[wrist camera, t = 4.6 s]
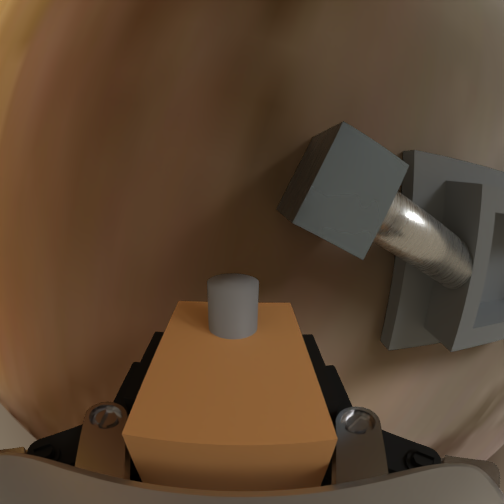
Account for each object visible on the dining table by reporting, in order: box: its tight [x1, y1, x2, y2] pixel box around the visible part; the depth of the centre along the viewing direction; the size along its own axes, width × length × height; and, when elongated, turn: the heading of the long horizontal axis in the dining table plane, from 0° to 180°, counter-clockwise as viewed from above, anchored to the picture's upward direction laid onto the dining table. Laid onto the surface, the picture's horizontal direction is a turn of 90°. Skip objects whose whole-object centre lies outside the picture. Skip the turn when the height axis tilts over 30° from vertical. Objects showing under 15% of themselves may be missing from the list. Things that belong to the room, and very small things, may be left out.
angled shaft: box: [276, 121, 473, 289], centre depth 13 cm, size 9×4×4 cm, turn 64°
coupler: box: [122, 274, 338, 491], centre depth 9 cm, size 4×8×7 cm, turn 179°
